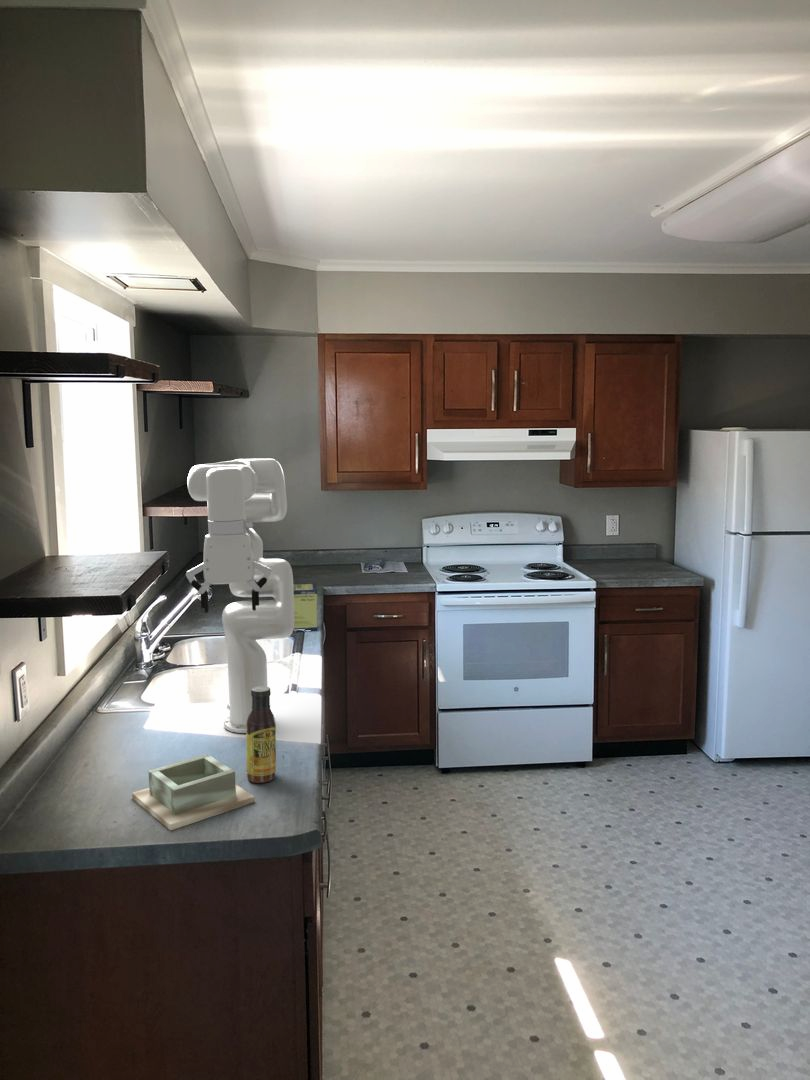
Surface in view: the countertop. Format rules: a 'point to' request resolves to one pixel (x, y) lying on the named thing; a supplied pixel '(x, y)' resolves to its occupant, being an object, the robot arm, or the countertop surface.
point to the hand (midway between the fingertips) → (230, 610)
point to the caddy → (191, 792)
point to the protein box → (305, 607)
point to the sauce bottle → (260, 738)
